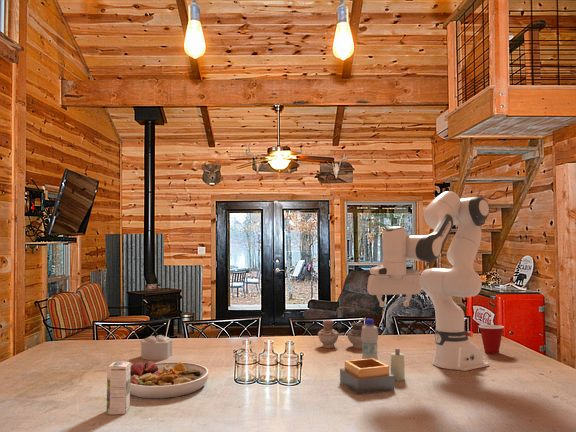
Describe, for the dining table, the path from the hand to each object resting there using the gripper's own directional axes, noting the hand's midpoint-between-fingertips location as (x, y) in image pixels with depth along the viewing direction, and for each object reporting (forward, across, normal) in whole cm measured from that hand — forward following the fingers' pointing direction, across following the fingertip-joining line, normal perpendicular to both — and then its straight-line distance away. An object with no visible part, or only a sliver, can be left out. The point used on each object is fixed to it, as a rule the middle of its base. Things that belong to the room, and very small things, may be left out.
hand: (394, 306), depth 189 cm
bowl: (+28, +83, -7) cm, 88 cm away
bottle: (+27, +5, -12) cm, 30 cm away
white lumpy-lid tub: (+28, +89, -51) cm, 106 cm away
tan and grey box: (+27, +13, +7) cm, 31 cm away
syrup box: (+28, +96, +15) cm, 101 cm away
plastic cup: (+26, -58, -27) cm, 68 cm away
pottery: (+26, +3, -51) cm, 57 cm away
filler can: (+26, -1, +1) cm, 26 cm away
